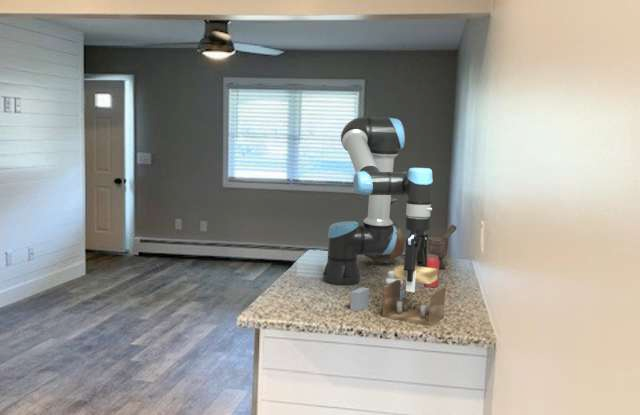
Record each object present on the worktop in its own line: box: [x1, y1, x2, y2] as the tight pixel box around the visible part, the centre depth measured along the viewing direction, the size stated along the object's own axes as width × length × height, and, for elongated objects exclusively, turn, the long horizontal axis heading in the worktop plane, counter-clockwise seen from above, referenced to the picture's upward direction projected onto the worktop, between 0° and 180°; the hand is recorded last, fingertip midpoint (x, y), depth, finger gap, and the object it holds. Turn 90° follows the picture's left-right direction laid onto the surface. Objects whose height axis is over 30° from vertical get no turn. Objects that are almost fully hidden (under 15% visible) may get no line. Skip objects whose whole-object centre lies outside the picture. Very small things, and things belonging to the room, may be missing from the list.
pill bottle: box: [384, 270, 404, 301], centre depth 206 cm, size 6×6×11 cm
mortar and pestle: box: [428, 224, 458, 269], centre depth 269 cm, size 12×9×20 cm
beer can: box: [423, 253, 440, 288], centre depth 235 cm, size 7×7×12 cm
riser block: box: [349, 286, 370, 312], centre depth 201 cm, size 3×8×6 cm, turn 151°
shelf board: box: [393, 264, 438, 284], centre depth 190 cm, size 12×7×4 cm, turn 60°
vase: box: [364, 197, 405, 265], centre depth 272 cm, size 23×19×30 cm
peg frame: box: [382, 280, 446, 327], centre depth 191 cm, size 16×11×10 cm
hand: (414, 288), depth 191 cm, fingers closed on shelf board, 7 cm apart
